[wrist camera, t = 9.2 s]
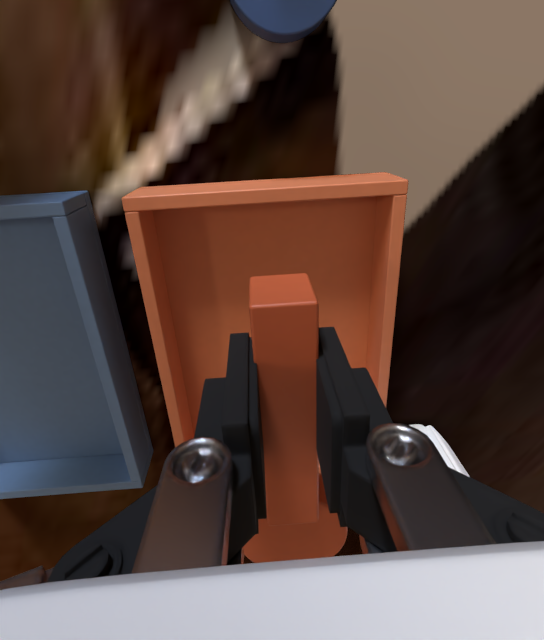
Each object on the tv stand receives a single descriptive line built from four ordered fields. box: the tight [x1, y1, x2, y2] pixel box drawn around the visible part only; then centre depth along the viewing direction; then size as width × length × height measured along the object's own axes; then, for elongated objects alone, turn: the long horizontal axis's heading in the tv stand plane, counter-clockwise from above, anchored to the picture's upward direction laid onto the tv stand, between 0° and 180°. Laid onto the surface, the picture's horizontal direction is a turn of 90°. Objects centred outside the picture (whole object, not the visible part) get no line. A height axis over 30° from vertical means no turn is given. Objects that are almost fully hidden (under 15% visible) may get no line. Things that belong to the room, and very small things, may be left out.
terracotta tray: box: [122, 172, 408, 473], centre depth 18 cm, size 14×10×2 cm
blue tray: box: [0, 191, 153, 499], centre depth 18 cm, size 14×10×2 cm
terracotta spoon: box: [243, 273, 348, 563], centre depth 12 cm, size 11×4×2 cm, turn 3°
